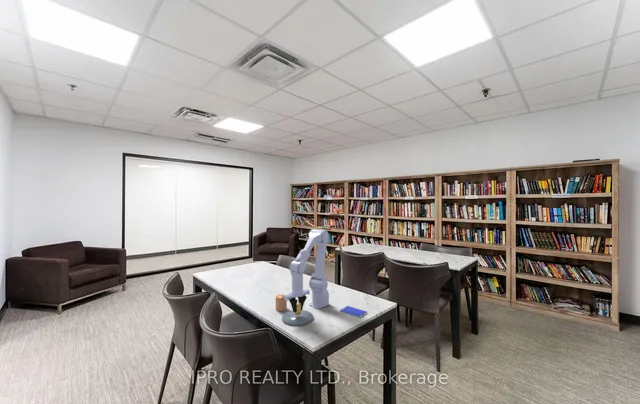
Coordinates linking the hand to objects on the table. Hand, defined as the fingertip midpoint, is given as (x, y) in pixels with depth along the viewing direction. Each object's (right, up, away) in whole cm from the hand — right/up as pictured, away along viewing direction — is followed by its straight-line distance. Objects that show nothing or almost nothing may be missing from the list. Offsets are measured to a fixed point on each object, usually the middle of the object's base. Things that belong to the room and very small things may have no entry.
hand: (297, 310), depth 132 cm
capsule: (0, -1, 0) cm, 1 cm away
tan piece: (-10, -4, +12) cm, 16 cm away
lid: (0, -4, 0) cm, 4 cm away
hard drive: (+30, -5, +7) cm, 31 cm away
